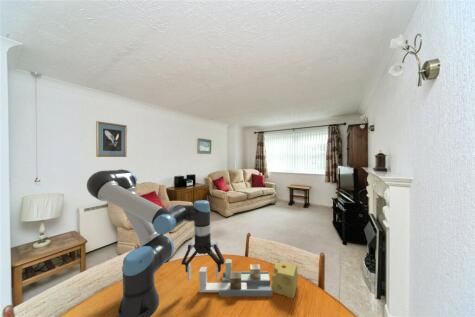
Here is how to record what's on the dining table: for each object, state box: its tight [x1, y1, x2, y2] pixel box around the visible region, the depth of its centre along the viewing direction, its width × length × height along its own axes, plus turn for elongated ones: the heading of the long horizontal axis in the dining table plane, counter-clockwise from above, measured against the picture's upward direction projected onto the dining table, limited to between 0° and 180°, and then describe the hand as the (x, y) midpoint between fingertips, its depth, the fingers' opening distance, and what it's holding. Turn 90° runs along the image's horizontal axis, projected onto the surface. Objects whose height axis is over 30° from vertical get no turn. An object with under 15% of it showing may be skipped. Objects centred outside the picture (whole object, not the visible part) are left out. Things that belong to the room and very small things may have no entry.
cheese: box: [271, 260, 299, 299], centre depth 85 cm, size 10×11×10 cm
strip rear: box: [224, 258, 271, 281], centre depth 91 cm, size 22×5×9 cm, turn 88°
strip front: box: [198, 266, 247, 293], centre depth 85 cm, size 22×5×9 cm, turn 88°
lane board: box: [218, 270, 273, 297], centre depth 88 cm, size 24×14×3 cm, turn 88°
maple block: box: [249, 263, 261, 280], centre depth 91 cm, size 5×4×5 cm
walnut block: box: [230, 273, 241, 289], centre depth 84 cm, size 5×4×5 cm
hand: (203, 278), depth 85 cm, fingers open, 13 cm apart
